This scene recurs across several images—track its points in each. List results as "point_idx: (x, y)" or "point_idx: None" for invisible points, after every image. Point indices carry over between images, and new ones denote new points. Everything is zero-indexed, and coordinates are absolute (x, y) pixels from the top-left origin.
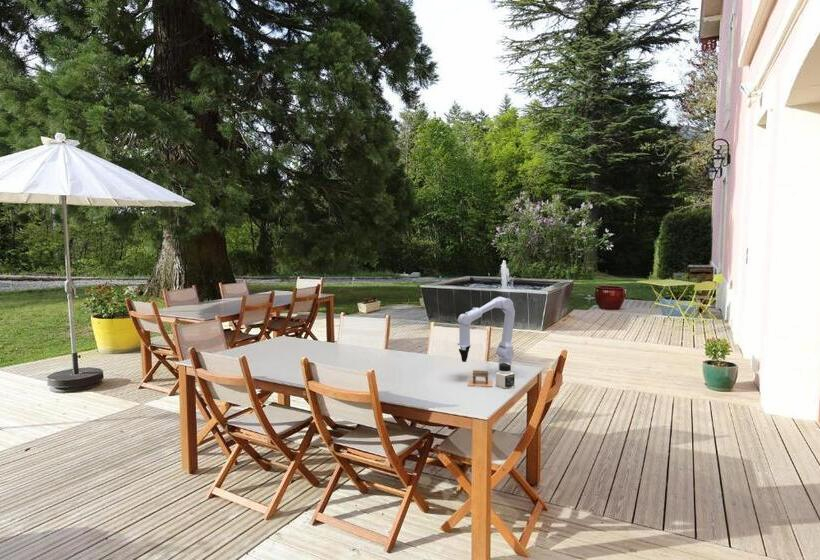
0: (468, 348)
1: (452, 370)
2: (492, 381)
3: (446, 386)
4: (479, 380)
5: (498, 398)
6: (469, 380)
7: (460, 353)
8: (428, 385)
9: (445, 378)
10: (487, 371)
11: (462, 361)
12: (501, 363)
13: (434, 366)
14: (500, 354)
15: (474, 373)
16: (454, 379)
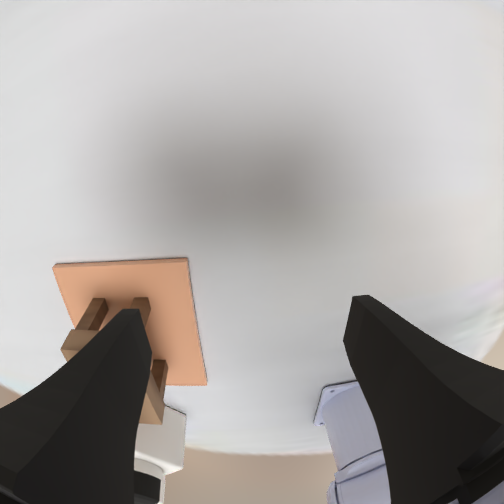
0: (395, 482)
1: (447, 114)
2: (179, 384)
3: (14, 130)
4: (176, 329)
5: (5, 375)
6: (155, 269)
7: (12, 404)
8: (24, 14)
9: (210, 55)
10: (140, 421)
11: (117, 314)
12: (134, 501)
13: (493, 20)
14: (376, 478)
15: (67, 355)
16: (190, 137)
